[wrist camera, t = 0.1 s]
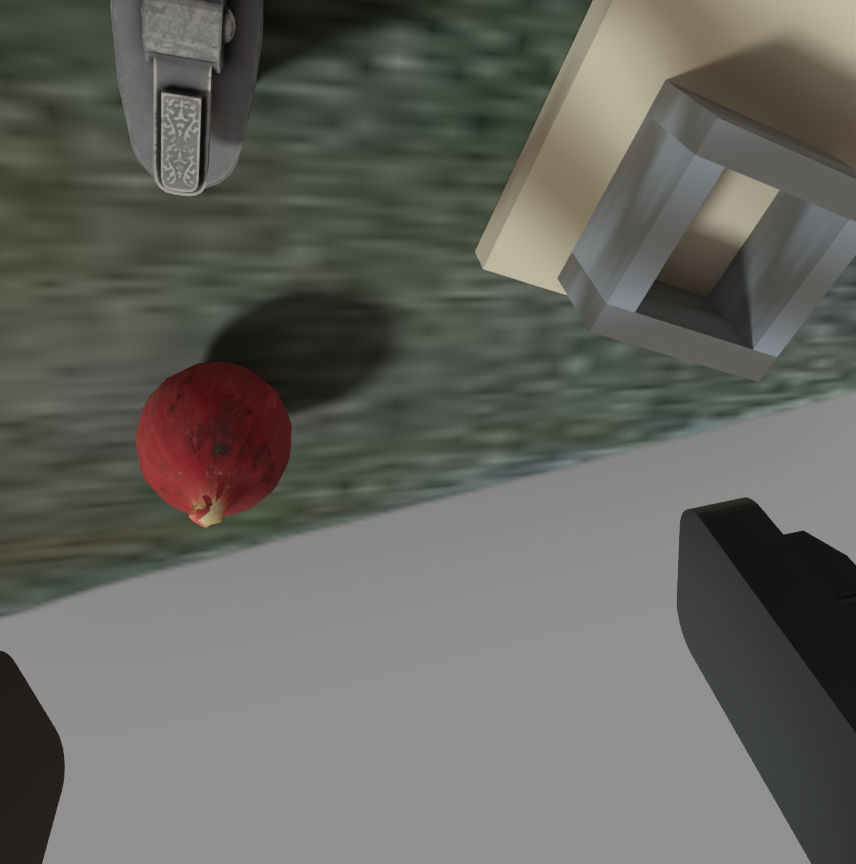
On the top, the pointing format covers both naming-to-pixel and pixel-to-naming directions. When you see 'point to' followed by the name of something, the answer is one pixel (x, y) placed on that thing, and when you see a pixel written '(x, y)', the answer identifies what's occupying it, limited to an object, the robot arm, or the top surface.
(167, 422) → the onion
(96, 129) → the top surface
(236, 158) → the lighter
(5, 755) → the robot arm
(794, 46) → the panel
